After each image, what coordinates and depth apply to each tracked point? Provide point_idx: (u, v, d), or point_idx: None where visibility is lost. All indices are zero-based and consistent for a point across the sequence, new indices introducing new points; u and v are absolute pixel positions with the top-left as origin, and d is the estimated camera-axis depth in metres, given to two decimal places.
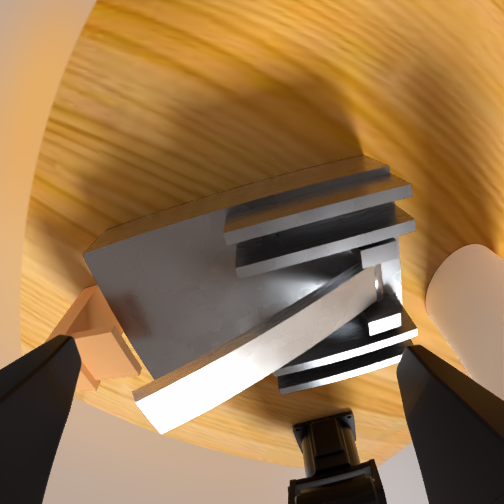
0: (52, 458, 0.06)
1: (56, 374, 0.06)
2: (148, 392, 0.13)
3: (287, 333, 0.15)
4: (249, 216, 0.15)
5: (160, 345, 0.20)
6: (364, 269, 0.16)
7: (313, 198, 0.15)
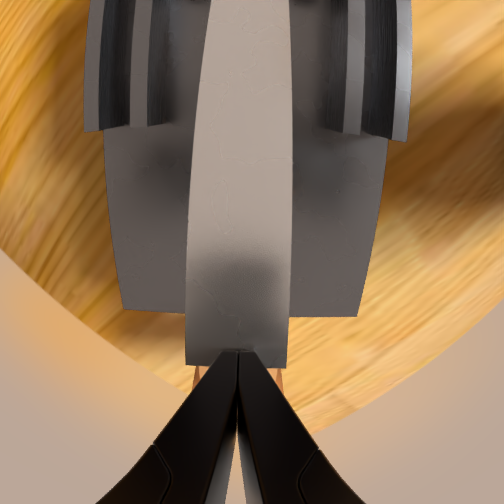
0: (226, 490, 0.06)
1: None
2: (187, 334, 0.08)
3: (227, 75, 0.08)
4: None
5: None
6: None
7: None
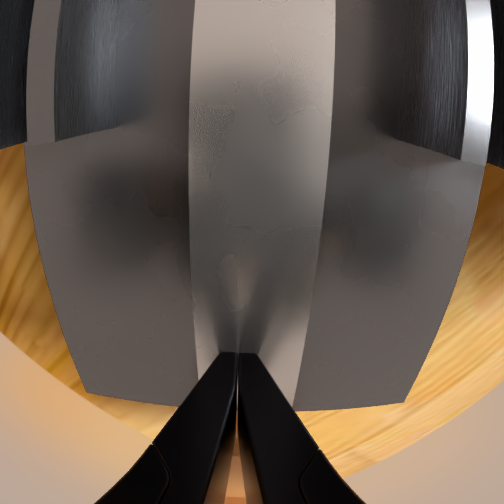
0: None
1: (236, 396, 0.06)
2: None
3: (233, 91, 0.05)
4: None
5: None
6: None
7: None
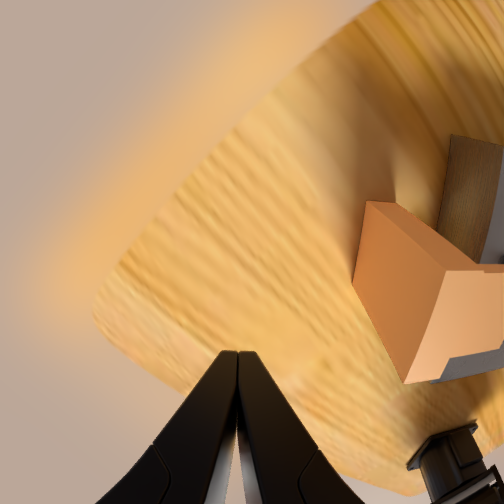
0: (226, 490, 0.06)
1: None
2: None
3: None
4: None
5: None
6: None
7: None
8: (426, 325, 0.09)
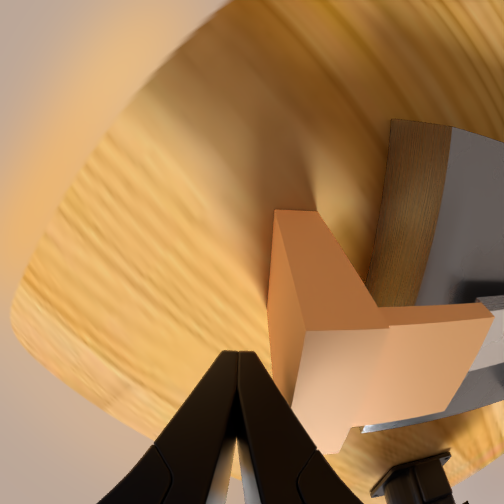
0: (227, 490, 0.06)
1: None
2: (500, 304, 0.08)
3: None
4: None
5: None
6: None
7: None
8: (292, 399, 0.06)
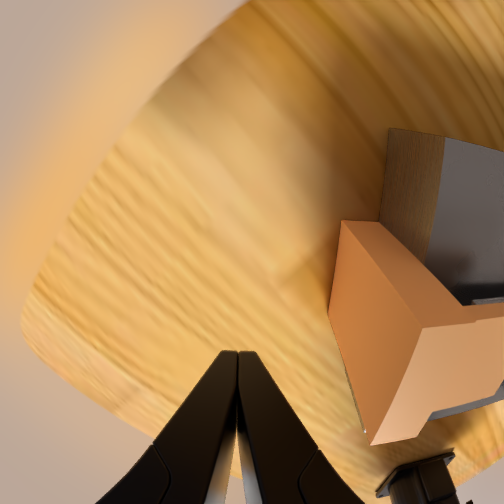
0: (226, 490, 0.06)
1: None
2: None
3: None
4: None
5: None
6: None
7: None
8: (397, 389, 0.07)
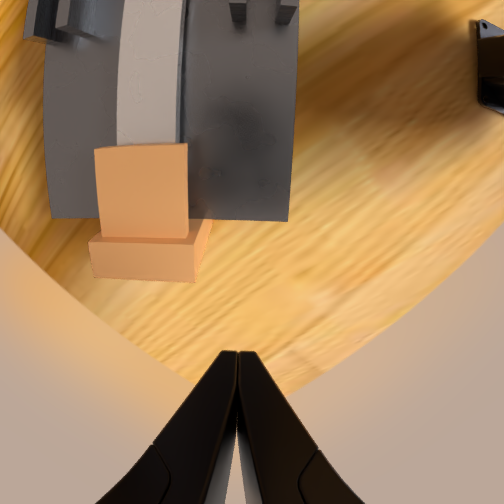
0: (226, 490, 0.06)
1: None
2: None
3: (140, 6, 0.10)
4: None
5: (188, 175, 0.14)
6: None
7: None
8: (134, 279, 0.12)
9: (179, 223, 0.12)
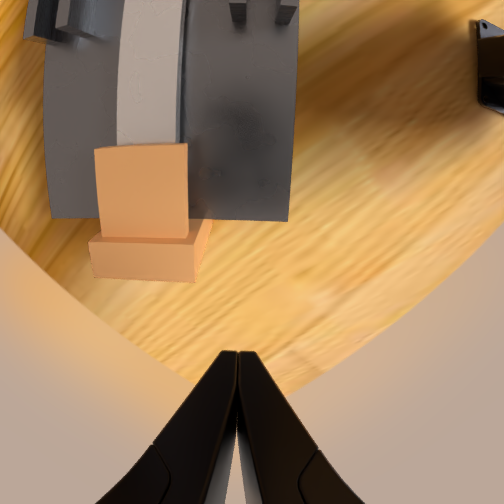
0: (226, 490, 0.06)
1: None
2: None
3: (140, 6, 0.10)
4: None
5: (188, 175, 0.14)
6: None
7: None
8: (135, 279, 0.12)
9: (179, 223, 0.12)
